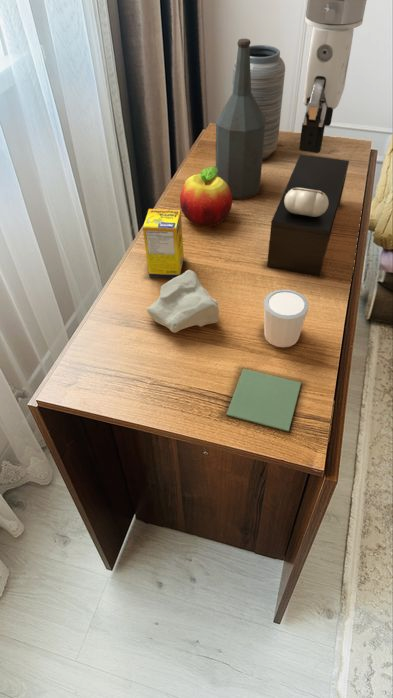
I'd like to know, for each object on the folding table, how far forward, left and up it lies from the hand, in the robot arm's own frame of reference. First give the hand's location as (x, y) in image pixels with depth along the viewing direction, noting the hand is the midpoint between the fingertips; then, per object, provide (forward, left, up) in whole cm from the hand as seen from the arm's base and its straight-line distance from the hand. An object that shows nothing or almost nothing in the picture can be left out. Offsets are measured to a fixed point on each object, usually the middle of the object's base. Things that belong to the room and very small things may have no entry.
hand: (315, 137), depth 78 cm
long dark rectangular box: (0, -9, -24) cm, 25 cm away
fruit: (+21, -8, -24) cm, 32 cm away
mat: (-2, +35, -24) cm, 42 cm away
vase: (+19, -40, -24) cm, 50 cm away
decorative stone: (+15, +23, -24) cm, 36 cm away
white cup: (-2, +21, -24) cm, 32 cm away
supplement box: (+23, +10, -24) cm, 34 cm away
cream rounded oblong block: (0, 0, -14) cm, 14 cm away
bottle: (+18, -22, -24) cm, 37 cm away
